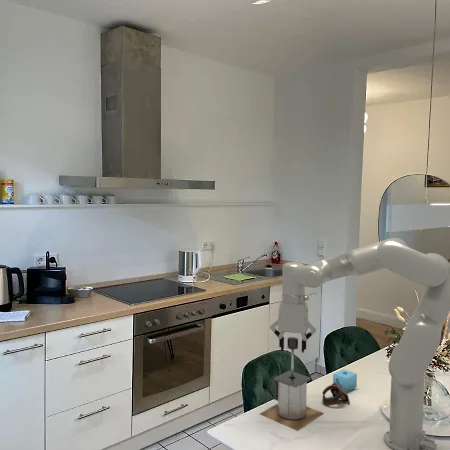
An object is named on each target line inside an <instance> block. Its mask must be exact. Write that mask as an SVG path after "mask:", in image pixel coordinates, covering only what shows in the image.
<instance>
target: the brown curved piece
mask: <svg viewBox="0 0 450 450" xmlns="http://www.w3.org/2000/svg"><path fill="white" fill-rule="evenodd" d="M328 391H329V392H330V393H331V395H332V397H330V398H329V397H326V396H325V395H326V394H327V392H328ZM321 393H322V399H321V400H322V404H323V405H325V406H336V405H338V406H340V405H341V404H340V401H342V402H345V403H347V404H348V405H351V401H350V398H349V394H348V393H346V392H345V391H344V390H343V389H342V388H340V387H339V386H337V384H336V383H333V382H332V384H330V385H328V386H326V387H325V388H324V389H323V390H322V392H321Z"/></svg>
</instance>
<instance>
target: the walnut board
mask: <svg viewBox="0 0 450 450" xmlns="http://www.w3.org/2000/svg"><path fill="white" fill-rule="evenodd" d="M324 414H325V413H324V412H321V411H319V410H316V409H314V408H311V407H309V406H306V417H305V418H304V419H302V420H298V421H290V420H285V419H283V418H281V417H280V416H279V415H278V403H277V404H275V405H273V406H271V407H269V408H268V409H265V410H264V411H262V412H260V413H259V415H260V416H263V417H265V418H268V419H269V420H272V421H274V422H276V423H279V424H280V425H284V426H286V427H288V428H290V429H292V430H295V431H297V432H299V431H300V430H302V429H303V428H305V427H306V426H307V425H310V424H311V423H313V422H314V421H315V420H316V419H318V418H320V417H321V416H323V415H324Z"/></svg>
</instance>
